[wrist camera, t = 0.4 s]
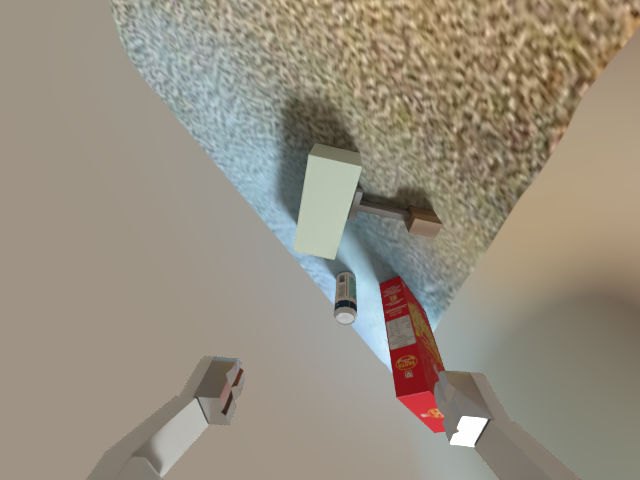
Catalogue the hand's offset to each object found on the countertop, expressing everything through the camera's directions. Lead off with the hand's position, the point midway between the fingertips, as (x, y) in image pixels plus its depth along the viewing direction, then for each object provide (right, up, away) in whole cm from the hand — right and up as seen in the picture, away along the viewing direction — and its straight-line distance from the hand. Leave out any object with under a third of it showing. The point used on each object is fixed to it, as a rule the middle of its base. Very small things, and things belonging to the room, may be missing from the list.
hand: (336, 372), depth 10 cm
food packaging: (+20, -9, +50) cm, 55 cm away
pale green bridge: (+1, +14, +36) cm, 39 cm away
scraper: (+13, +11, +37) cm, 41 cm away
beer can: (+6, -4, +48) cm, 48 cm away
